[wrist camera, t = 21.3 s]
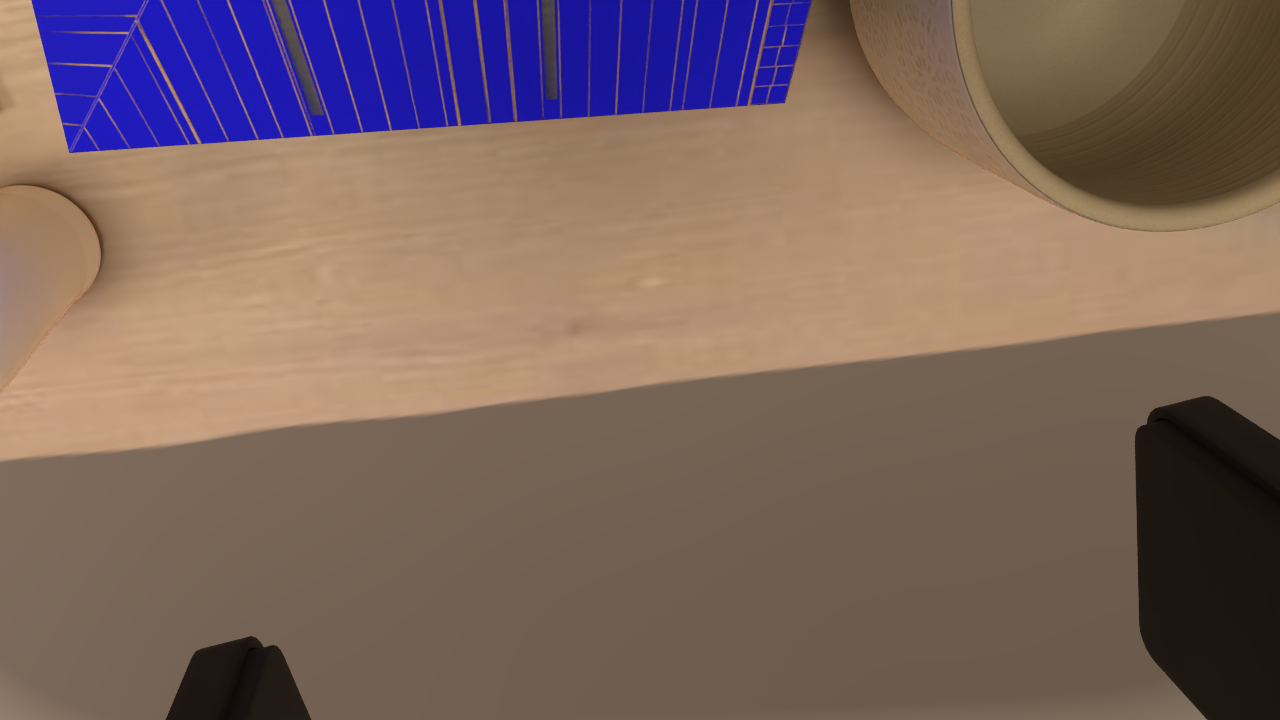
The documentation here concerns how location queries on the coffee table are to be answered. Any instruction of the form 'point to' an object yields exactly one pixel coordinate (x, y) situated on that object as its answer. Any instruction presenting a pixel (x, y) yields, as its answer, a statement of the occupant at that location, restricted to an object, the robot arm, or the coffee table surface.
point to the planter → (1096, 99)
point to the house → (399, 63)
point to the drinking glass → (39, 269)
